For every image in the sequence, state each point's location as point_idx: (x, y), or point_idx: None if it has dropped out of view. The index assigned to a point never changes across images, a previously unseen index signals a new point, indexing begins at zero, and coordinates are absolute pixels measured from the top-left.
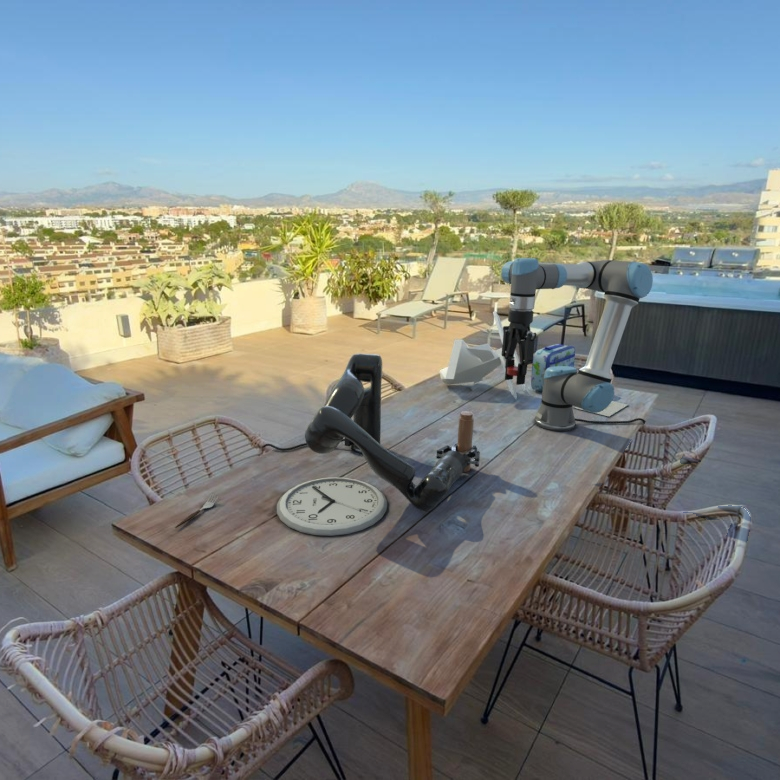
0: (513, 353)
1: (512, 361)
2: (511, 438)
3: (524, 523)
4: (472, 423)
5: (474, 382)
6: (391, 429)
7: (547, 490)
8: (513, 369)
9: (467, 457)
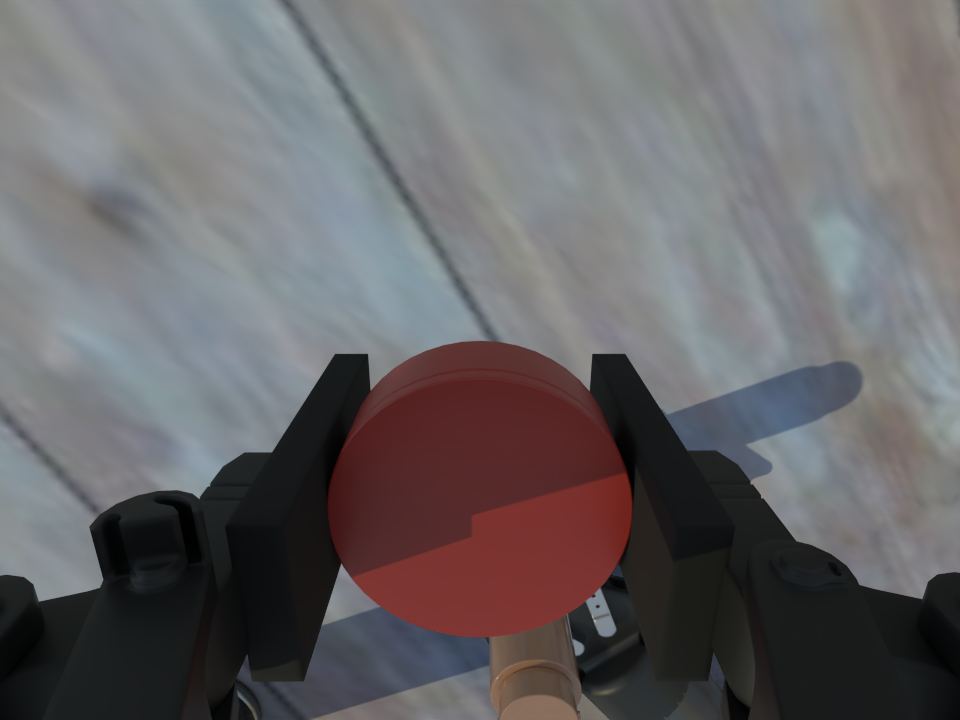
0: (197, 693)
1: (298, 553)
2: (277, 44)
3: (953, 527)
4: (574, 658)
5: None
6: (13, 564)
7: (853, 301)
8: (529, 594)
9: (630, 607)
